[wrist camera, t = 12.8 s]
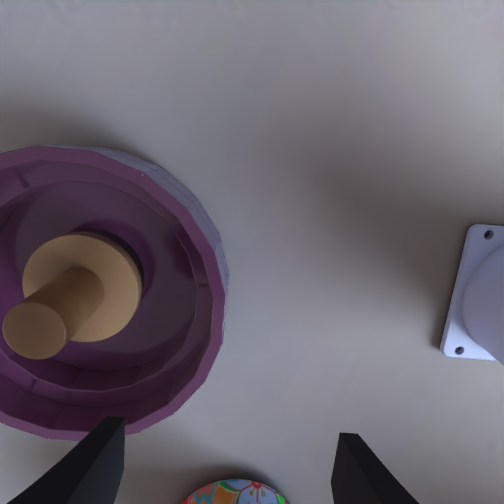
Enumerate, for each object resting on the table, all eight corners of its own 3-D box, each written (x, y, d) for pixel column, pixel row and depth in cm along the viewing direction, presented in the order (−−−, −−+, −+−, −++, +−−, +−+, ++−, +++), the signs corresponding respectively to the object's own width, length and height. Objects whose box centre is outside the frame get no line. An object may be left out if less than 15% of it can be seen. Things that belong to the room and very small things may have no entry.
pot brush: (151, 231, 21) (110, 270, 15) (145, 327, 22) (106, 402, 16) (44, 219, 21) (-48, 253, 14) (45, 317, 22) (-38, 389, 16)
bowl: (238, 160, 21) (237, 164, 16) (218, 396, 24) (213, 449, 20) (-40, 133, 20) (-117, 129, 16) (-19, 379, 24) (-77, 431, 19)
